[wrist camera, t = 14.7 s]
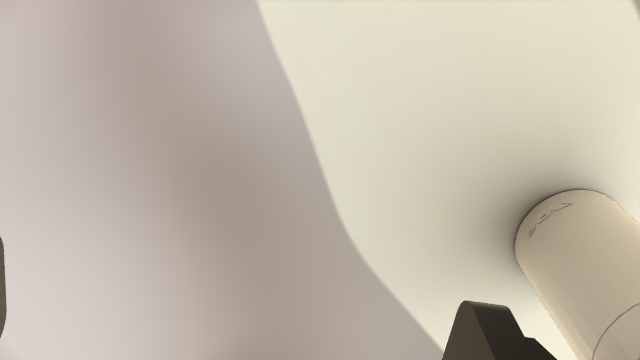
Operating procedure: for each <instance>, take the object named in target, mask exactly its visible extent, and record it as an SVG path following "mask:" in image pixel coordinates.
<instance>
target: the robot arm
mask: <svg viewBox="0 0 640 360" xmlns="http://www.w3.org/2000/svg"><path fill="white" fill-rule="evenodd" d="M515 256H516V259H517V262H518V265H519V266H520V268H521V269H522V271H523V273H524V274H525V276H526V277H527V279H528V281H529V282H530V284H531V285H532V287H533V289H534V290H535V292H536V294H537V295H538V297H539V299H540V300H541V302H542V303H543V305H544V306H545V308H546V310H547V311H548V313H549V314H550V316H551V317H552V319H553V321H554V322H555V324H556V325H557V327H558V328H559V330H560V332H561V333H562V335H563V336H564V338H565V339H566V341H567V343H568V344H569V346H570V347H571V349H572V350H573V352H574V354H575V355H576V357H577V358H578V360H640V223H639V222H638V221H637V220H636V219H634V218H633V217H632V216H631V215H630V214H629V213H627V212H626V211H625V210H624V209H623V208H622V207H621V206H619V205H618V204H617V203H616V202H615V201H613V200H612V199H610V198H609V197H607V196H606V195H604V194H601V193H598V192H596V191H590V190H570V191H566V192H562V193H558V194H556V195H554V196H552V197H549V198H547V199H546V200H544V201H543V202H541V203H540V204H538V205H537V206H536V207H535V208H534V209H533V210H532V211H531V212H529V213H528V215H527V216H526V217H525V219H524V220H523V222H522V223H521V225H520V227H519V230H518V232H517V235H516V240H515ZM5 320H6V289H5V267H4V247H3V242H2V239H1V237H0V337H1V334H2V332H3V329H4V325H5ZM442 360H557V359H556V358H555V357H554V356H553V355H552V354H551V353H549V352H548V351H547V350H546V349H545V348H544V347H543V346H542V345H541V344H540V343H539V342H538V341H537V340H536V339H534V338H528V337H524V335H523V333H522V331H521V329H520V327H519V325H518V324H517V322H516V320H515V318H514V316H513V314H512V312H511V311H510V309H509V308H508V307H506V306H502V305H495V304H488V303H481V302H473V301H463V302H462V303H461V305H460V306H459V308H458V311H457V314H456V317H455V320H454V323H453V327H452V330H451V333H450V336H449V339H448V342H447V346H446V349H445V352H444V355H443V358H442Z"/></svg>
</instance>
